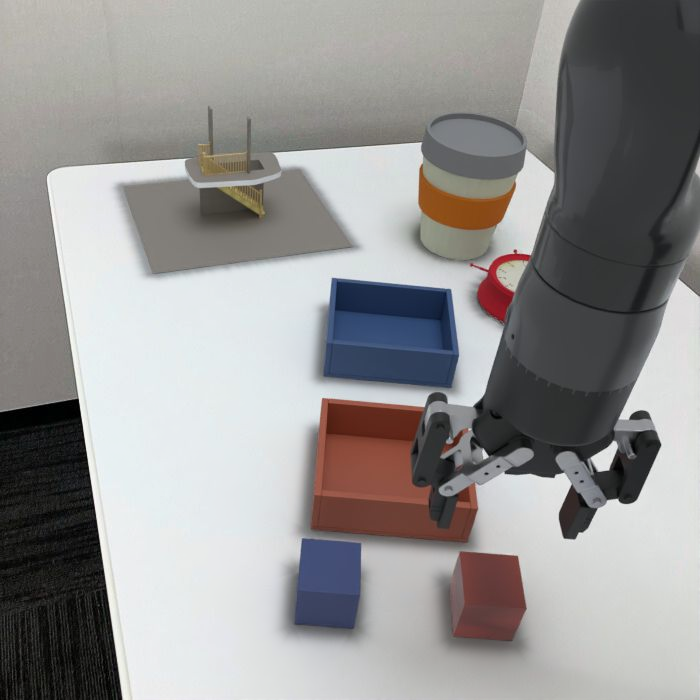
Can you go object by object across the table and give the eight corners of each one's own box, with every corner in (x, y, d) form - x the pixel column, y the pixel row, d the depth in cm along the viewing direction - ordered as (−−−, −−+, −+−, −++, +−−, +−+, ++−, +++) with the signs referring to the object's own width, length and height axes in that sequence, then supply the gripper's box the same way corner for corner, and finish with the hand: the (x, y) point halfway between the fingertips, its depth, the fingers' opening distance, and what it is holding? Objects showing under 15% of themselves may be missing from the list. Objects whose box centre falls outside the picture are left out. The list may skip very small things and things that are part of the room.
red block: (504, 588, 62) (518, 555, 59) (512, 641, 58) (526, 608, 55) (449, 584, 62) (459, 550, 59) (453, 636, 58) (464, 603, 55)
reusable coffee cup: (401, 258, 97) (419, 147, 87) (411, 209, 106) (428, 104, 97) (501, 275, 96) (530, 165, 86) (501, 224, 106) (528, 120, 96)
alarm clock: (522, 240, 96) (621, 280, 85) (518, 286, 99) (613, 330, 88) (458, 260, 91) (554, 306, 80) (456, 308, 94) (548, 358, 83)
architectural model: (352, 246, 98) (364, 142, 89) (153, 273, 89) (143, 161, 80) (299, 169, 112) (305, 73, 103) (122, 186, 104) (112, 82, 95)
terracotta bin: (457, 444, 73) (466, 410, 70) (467, 542, 65) (478, 508, 62) (318, 431, 73) (322, 397, 70) (310, 529, 64) (314, 494, 61)
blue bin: (444, 320, 88) (451, 288, 85) (451, 388, 79) (459, 354, 76) (328, 309, 87) (331, 277, 84) (323, 376, 79) (326, 342, 76)
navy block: (355, 576, 61) (361, 542, 58) (354, 628, 58) (360, 595, 55) (298, 572, 61) (301, 537, 58) (293, 624, 58) (297, 590, 55)
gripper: (449, 375, 38) (401, 563, 49) (727, 399, 39) (621, 580, 50) (438, 286, 44) (397, 472, 55) (681, 309, 45) (594, 488, 55)
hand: (504, 523), depth 52 cm, fingers open, 8 cm apart
